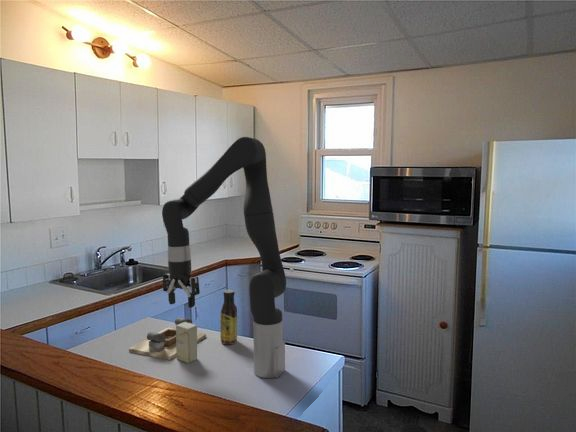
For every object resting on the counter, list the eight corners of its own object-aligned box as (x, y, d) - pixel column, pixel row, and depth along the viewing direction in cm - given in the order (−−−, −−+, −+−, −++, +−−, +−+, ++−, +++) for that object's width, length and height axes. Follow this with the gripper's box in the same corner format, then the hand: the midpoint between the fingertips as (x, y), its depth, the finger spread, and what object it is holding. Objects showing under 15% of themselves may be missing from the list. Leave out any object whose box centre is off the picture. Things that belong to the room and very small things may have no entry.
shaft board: (205, 336, 174) (205, 319, 173) (170, 359, 154) (169, 339, 153) (168, 330, 181) (167, 313, 180) (128, 351, 161) (127, 332, 160)
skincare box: (176, 359, 155) (174, 325, 153) (185, 354, 159) (184, 321, 157) (188, 363, 151) (187, 328, 150) (198, 358, 155) (197, 324, 154)
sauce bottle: (217, 342, 169) (215, 290, 167) (230, 337, 174) (229, 287, 171) (227, 347, 165) (226, 294, 162) (241, 342, 169) (240, 290, 167)
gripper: (203, 258, 151) (205, 305, 153) (171, 254, 158) (173, 299, 160) (188, 262, 144) (190, 311, 146) (155, 259, 151) (158, 305, 153)
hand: (181, 305), depth 153 cm, fingers open, 8 cm apart
